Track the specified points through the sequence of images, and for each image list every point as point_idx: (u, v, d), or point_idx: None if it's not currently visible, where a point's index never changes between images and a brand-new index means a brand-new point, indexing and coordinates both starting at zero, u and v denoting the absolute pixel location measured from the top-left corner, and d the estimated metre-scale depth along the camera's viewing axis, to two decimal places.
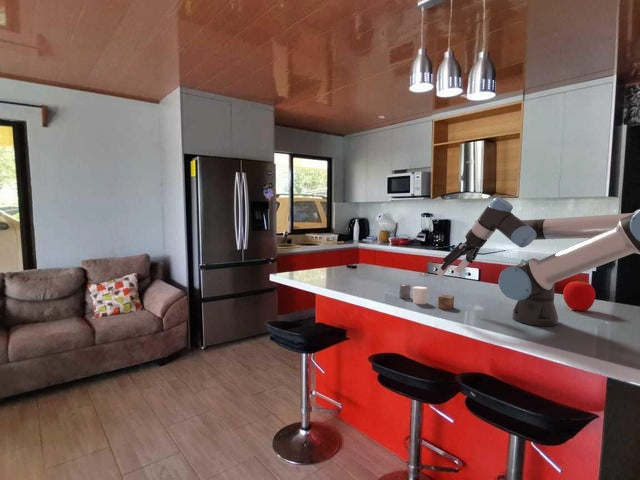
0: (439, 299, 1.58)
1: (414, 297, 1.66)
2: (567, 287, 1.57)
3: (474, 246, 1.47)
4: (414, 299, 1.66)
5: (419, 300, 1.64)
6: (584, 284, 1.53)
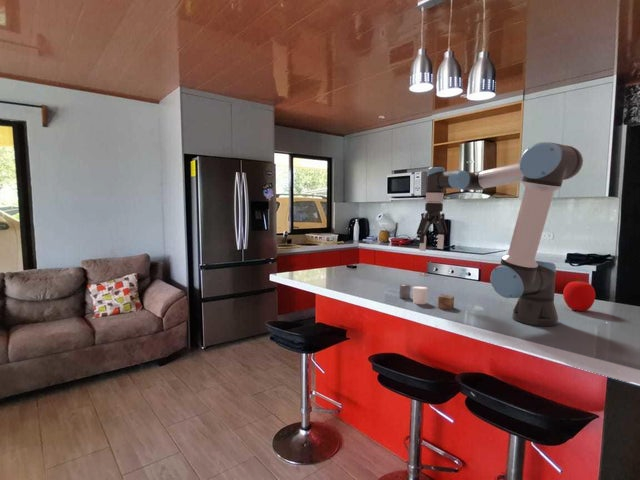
0: (439, 299, 1.58)
1: (414, 297, 1.66)
2: (567, 287, 1.57)
3: (437, 215, 1.67)
4: (414, 299, 1.66)
5: (419, 300, 1.64)
6: (584, 284, 1.53)
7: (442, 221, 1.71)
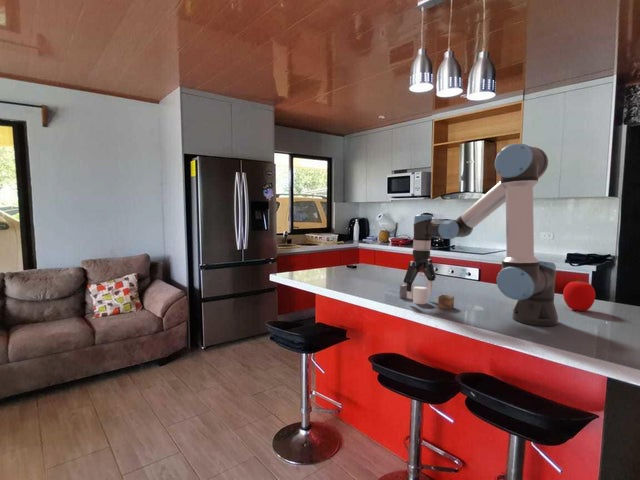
0: (439, 299, 1.58)
1: (414, 297, 1.66)
2: (567, 287, 1.57)
3: (424, 262, 1.66)
4: (414, 299, 1.66)
5: (419, 300, 1.64)
6: (584, 284, 1.53)
7: (430, 267, 1.70)
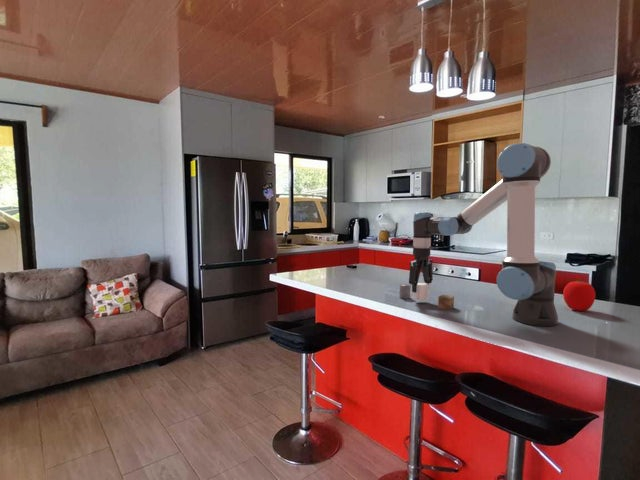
0: (439, 299, 1.58)
1: None
2: (567, 287, 1.57)
3: (425, 258, 1.66)
4: None
5: (421, 297, 1.64)
6: (584, 284, 1.53)
7: (429, 267, 1.69)
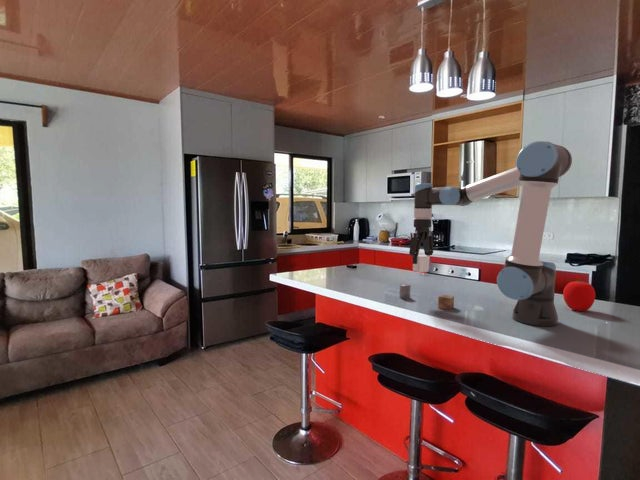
0: (439, 299, 1.58)
1: None
2: (567, 287, 1.57)
3: (426, 229, 1.65)
4: None
5: (421, 268, 1.63)
6: (584, 284, 1.53)
7: (430, 239, 1.68)
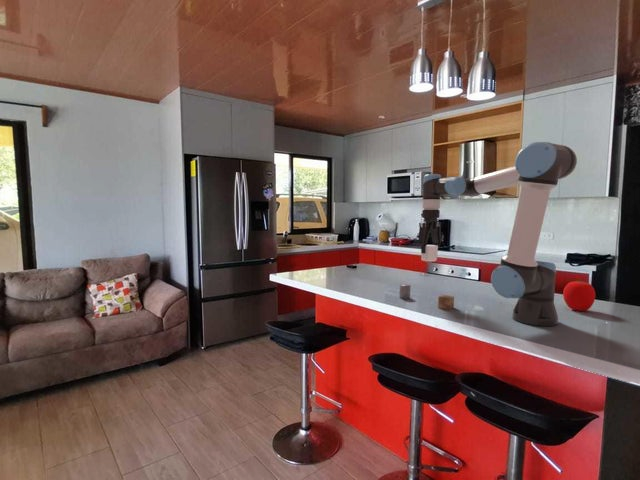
0: (439, 299, 1.58)
1: None
2: (567, 287, 1.57)
3: (434, 220, 1.68)
4: None
5: (430, 257, 1.66)
6: (584, 284, 1.53)
7: (438, 230, 1.71)
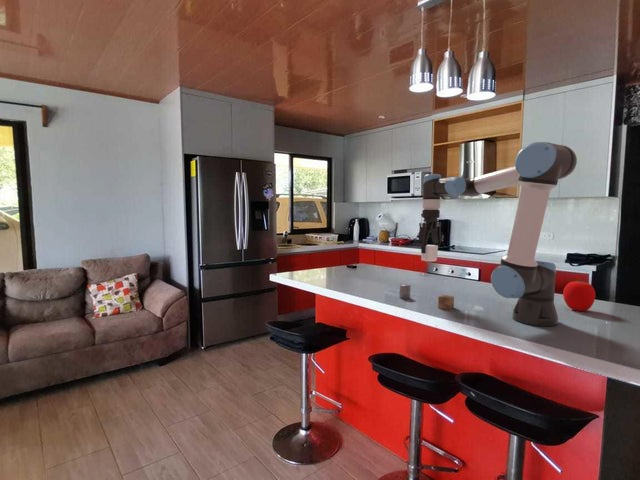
0: (439, 299, 1.58)
1: None
2: (567, 287, 1.57)
3: (434, 220, 1.68)
4: None
5: (430, 257, 1.66)
6: (584, 284, 1.53)
7: (438, 230, 1.71)
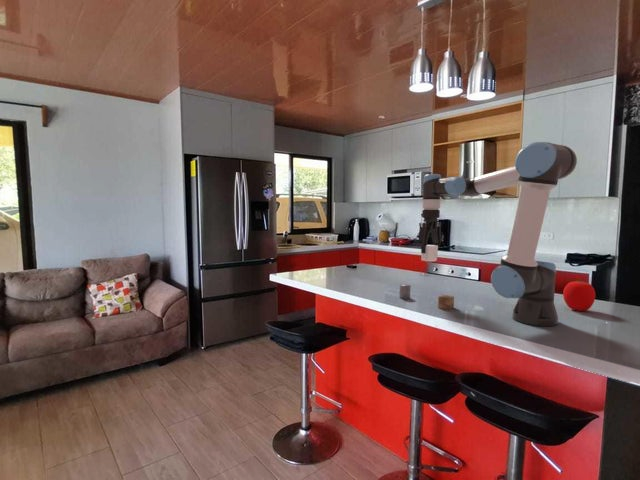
0: (439, 299, 1.58)
1: None
2: (567, 287, 1.57)
3: (434, 220, 1.68)
4: None
5: (430, 257, 1.66)
6: (584, 284, 1.53)
7: (438, 230, 1.71)
